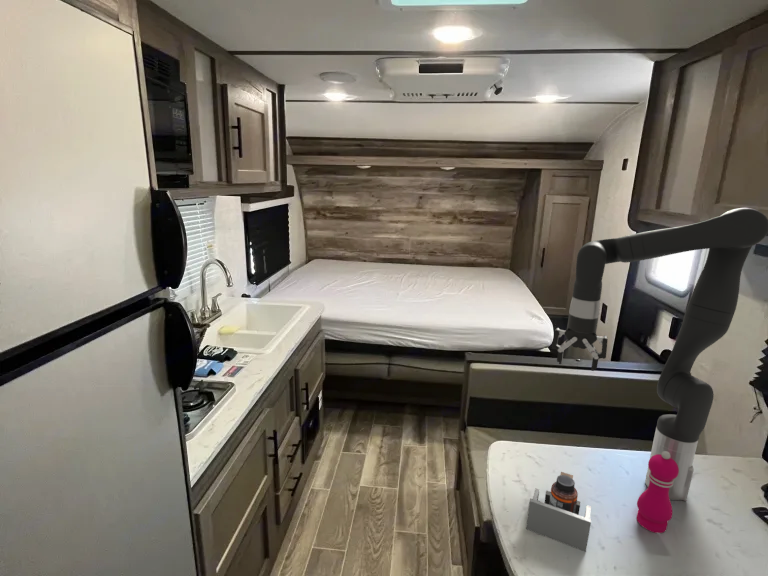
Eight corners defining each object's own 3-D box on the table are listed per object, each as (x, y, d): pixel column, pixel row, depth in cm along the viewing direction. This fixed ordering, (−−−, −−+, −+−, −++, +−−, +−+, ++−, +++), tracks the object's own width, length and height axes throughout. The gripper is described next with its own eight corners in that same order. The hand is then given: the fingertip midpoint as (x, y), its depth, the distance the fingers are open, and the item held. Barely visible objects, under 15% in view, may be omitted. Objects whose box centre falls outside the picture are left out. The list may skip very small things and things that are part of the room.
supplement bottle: (569, 511, 107) (575, 473, 104) (576, 530, 101) (583, 490, 99) (544, 509, 108) (550, 470, 105) (550, 527, 102) (556, 487, 99)
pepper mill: (639, 507, 109) (653, 438, 104) (672, 523, 104) (688, 452, 99) (630, 522, 104) (644, 451, 99) (664, 540, 99) (681, 466, 94)
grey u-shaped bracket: (588, 518, 105) (593, 491, 103) (585, 551, 96) (590, 522, 94) (533, 499, 111) (537, 473, 109) (525, 529, 102) (529, 500, 100)
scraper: (580, 498, 112) (583, 478, 110) (578, 517, 106) (581, 497, 104) (548, 487, 116) (550, 468, 114) (544, 505, 109) (546, 485, 108)
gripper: (612, 314, 120) (603, 367, 124) (558, 306, 126) (551, 356, 130) (612, 321, 113) (602, 377, 118) (555, 312, 120) (548, 366, 124)
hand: (576, 366), depth 124 cm, fingers open, 8 cm apart
